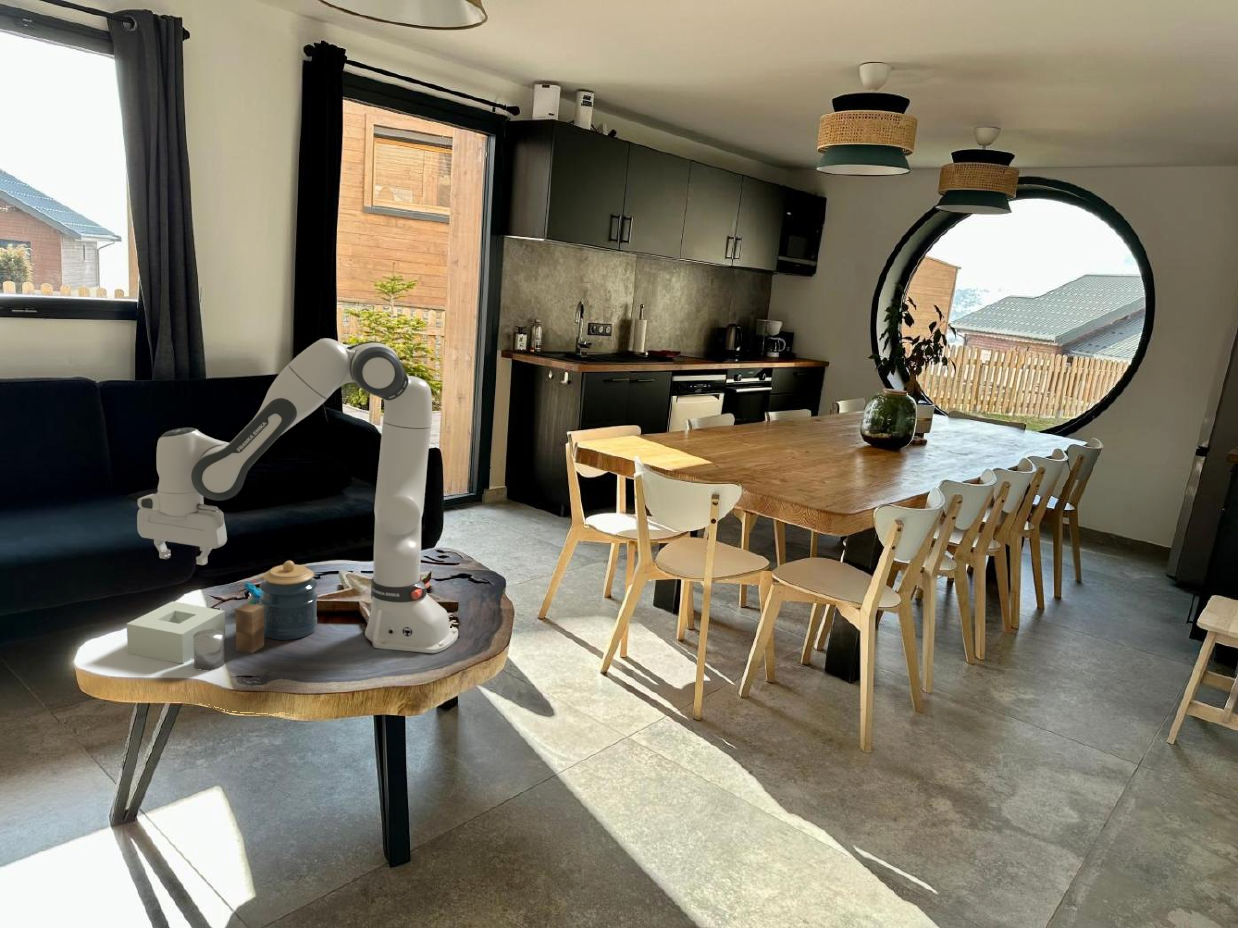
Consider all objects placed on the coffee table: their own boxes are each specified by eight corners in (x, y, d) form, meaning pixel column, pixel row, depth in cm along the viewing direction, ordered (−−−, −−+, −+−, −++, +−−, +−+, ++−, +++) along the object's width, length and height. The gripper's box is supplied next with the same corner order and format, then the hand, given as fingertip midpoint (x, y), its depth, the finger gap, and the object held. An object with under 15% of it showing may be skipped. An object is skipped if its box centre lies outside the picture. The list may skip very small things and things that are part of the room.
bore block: (225, 638, 197) (224, 610, 196) (183, 663, 184) (182, 634, 182) (173, 628, 200) (172, 601, 198) (127, 652, 186) (126, 623, 185)
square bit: (264, 645, 195) (263, 605, 193) (252, 653, 191) (252, 612, 189) (248, 642, 196) (247, 602, 194) (236, 650, 192) (235, 609, 190)
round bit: (230, 660, 187) (229, 631, 186) (212, 672, 181) (211, 642, 180) (206, 656, 188) (205, 627, 187) (187, 667, 182) (186, 637, 181)
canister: (303, 614, 214) (303, 548, 210) (326, 632, 205) (327, 564, 201) (251, 626, 205) (250, 557, 201) (273, 645, 196) (272, 574, 192)
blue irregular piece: (280, 610, 211) (249, 585, 208) (262, 628, 210) (230, 603, 206) (277, 599, 221) (247, 575, 217) (260, 616, 220) (229, 592, 216)
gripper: (232, 503, 186) (233, 563, 189) (152, 492, 190) (155, 550, 193) (212, 511, 180) (214, 572, 183) (130, 498, 184) (133, 558, 187)
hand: (183, 560), depth 188 cm, fingers open, 8 cm apart
